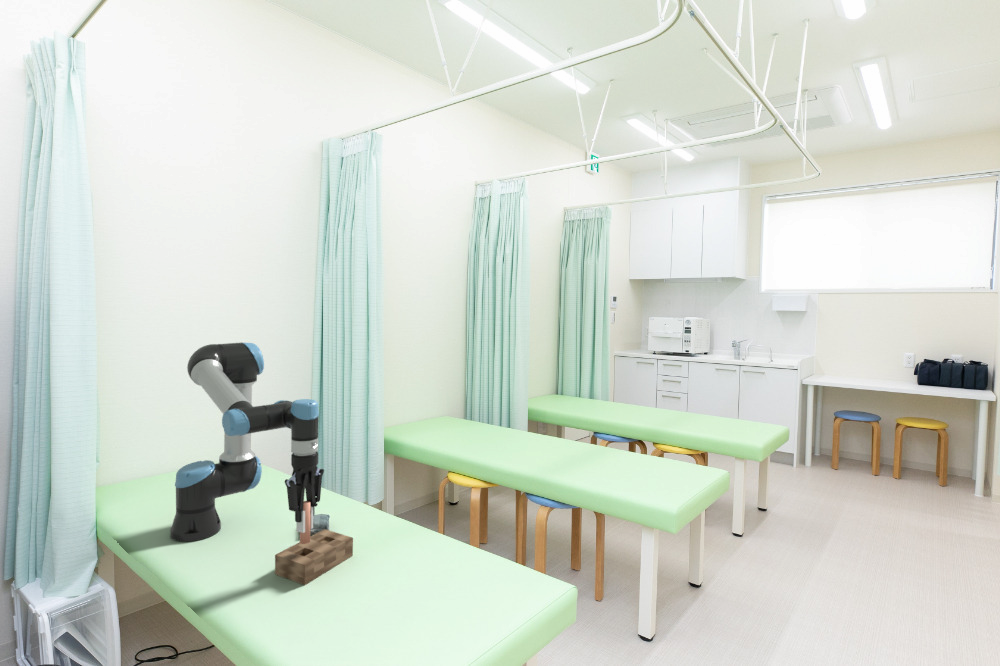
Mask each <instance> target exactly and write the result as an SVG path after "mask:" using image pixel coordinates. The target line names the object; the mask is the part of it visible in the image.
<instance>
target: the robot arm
mask: <svg viewBox="0 0 1000 666" xmlns="http://www.w3.org/2000/svg"><path fill="white" fill-rule="evenodd" d="M186 368H187V373H188V376H189V378H190V380H191V381H192V382H193V383H194V384H195V385H198V386H200V387H201V388H202V389H203V390H204V392H205V393H206V394H207V395H208V397H209V398H210V399H211V400H212V402H213V403H214V405H215V406H216V407H217V408H218V410H220V412H221V413H222V418H221V426H222V428H223V432H224V435H223V436H224V439H223V440H224V441H223V447H224V449H223V452H222V453H221V454H220V455H219V457H218V458H219V461H218V462H217V463H215V462H214V461H212V460H203V461H202V460H198V461H194V462H190V463H188V464H186V465H184V466H182V467H181V468H180V469H177V472H176V474H175V482H174V487H175V515H174V518H173V519H172V520H173V521H172V524H171V527H170V529H169V531H170V533H169V535H170V536H169V537H170V539H172V540H173V541H175V542H183V543H184V542H195V541H200V540H201V541H202V540H204V539H208V538H210V537H213V536H214V535H216V534H217V533H219V532H220V531H221V528H222V526H221V525H222V523H221V518H220V517H219V514H218V511H217V509H216V499H218V498H223V497H225V496H230V495H234V494H239V493H244V492H247V491H250V490H252V489H254V488H256V487H257V486H258V485H259V484H260V481H261V478H262V472H263V470H262V469H263V467H262V462H261V459H260V458H259V457H258V456H256V453H255V451H253V450H252V434H255V433H261V432H264V431H273V430H279V429H283V428H287V429H290V431H291V433H290V434H291V435H290V436H291V437H290V439H291V440H290V441H291V442H290V443H291V446H290V447H291V448H290V449H291V450H290V451H291V458H290V461H291V462H290V463H291V468H292V473H291V476H290V478H288V479H287V478H286V479H285V480H284V484H285V486H286V491H287V503H288V510H289V511H291V512H294V521H295V522H296V532H298V533H300V532H301V533H304V532H305V511H304V510H303V503H304V501H310V502H311V506H310V529H312V528H313V516H314V515H316V514H315V509H316V508H315V507H318V503H320V502H321V496H322V495H321V494H322V493H321V492H322V484H323V483H322V482H323V476H324V472H325V469H323V468H319V467H318V465H319V452H318V451H319V418H320V417H319V415H320V411H319V403H318V402H317V400H315V399H309V398H303V399H302V398H300V399H296V400H293V401H290V400H284V399H283V400H277V401H276V402H274V403H270V404H265V405H264V404H263V405H256V406H253V405H252V403H253V402H252V400H253V399H252V398H253V397H252V396H253V385H254V384H255V383H257V379H258V376H259V375H261V374H263V372H264V369H265V360H264V355H263V354H262V351H261V349H260V347H259V346H258V345H257V344H255V343H253V342H230V343H229V342H228V343H218V344H217V343H212V344H207V345H206V344H205V345H204V346H201V347H199V348H198V349H196V351H194V352H193V353H192V355H191V356H190V357H189V360H188V361H187V367H186ZM305 498H306V500H305Z"/></svg>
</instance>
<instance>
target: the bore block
mask: <svg viewBox="0 0 1000 666" xmlns="http://www.w3.org/2000/svg"><path fill="white" fill-rule="evenodd" d="M353 553H354V538H353V537H352V536H349V535H345V534H342V533H338V532H337V531H333V530H330V529H329V530H326V529H324V530H322V531H320V532H318V533H316V534H311V535H310V542H309V543H307V544H301V543H300V541H299V542H297V543H296V544H293V545H291V546H289V547H287V548H285V549H283V550H282V551H280V552H278V553H276V554H275V555H274V574H275V575H276V576H279V577H281V578H283V579H287V580H289V581H292V582H295V583H298V584H301V585H303V586H306V585H308V584H309V583H311V582H313V581H314V580H316V579H317V578H319V577H321V576H322V575H324V574H326V573H327V572H329V571H330V570H332V569H333V568H335V567H337V566H338V565H340V564H342V563H344V562H345V561H346V560H348V559H350V558H352V557H353Z"/></svg>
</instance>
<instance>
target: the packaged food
mask: <svg viewBox="0 0 1000 666" xmlns="http://www.w3.org/2000/svg"><path fill="white" fill-rule="evenodd" d="M330 517H331V516H330V515H329V514H327V513H326V514H323V513H319V514H318V513H317V514H314V516H313V528H312V529H310V535H314V534H316V533H318V532H320V531H322V530H324V529H326V530H329V531H330Z"/></svg>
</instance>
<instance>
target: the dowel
mask: <svg viewBox="0 0 1000 666" xmlns="http://www.w3.org/2000/svg"><path fill="white" fill-rule="evenodd" d="M310 506H311V502H310V501H307V500H304V503H303V510H304V511H305V532H304V533H301V532H299V542H300V543H301V544H307V543H309V542H310V537H311V534H310Z"/></svg>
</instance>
